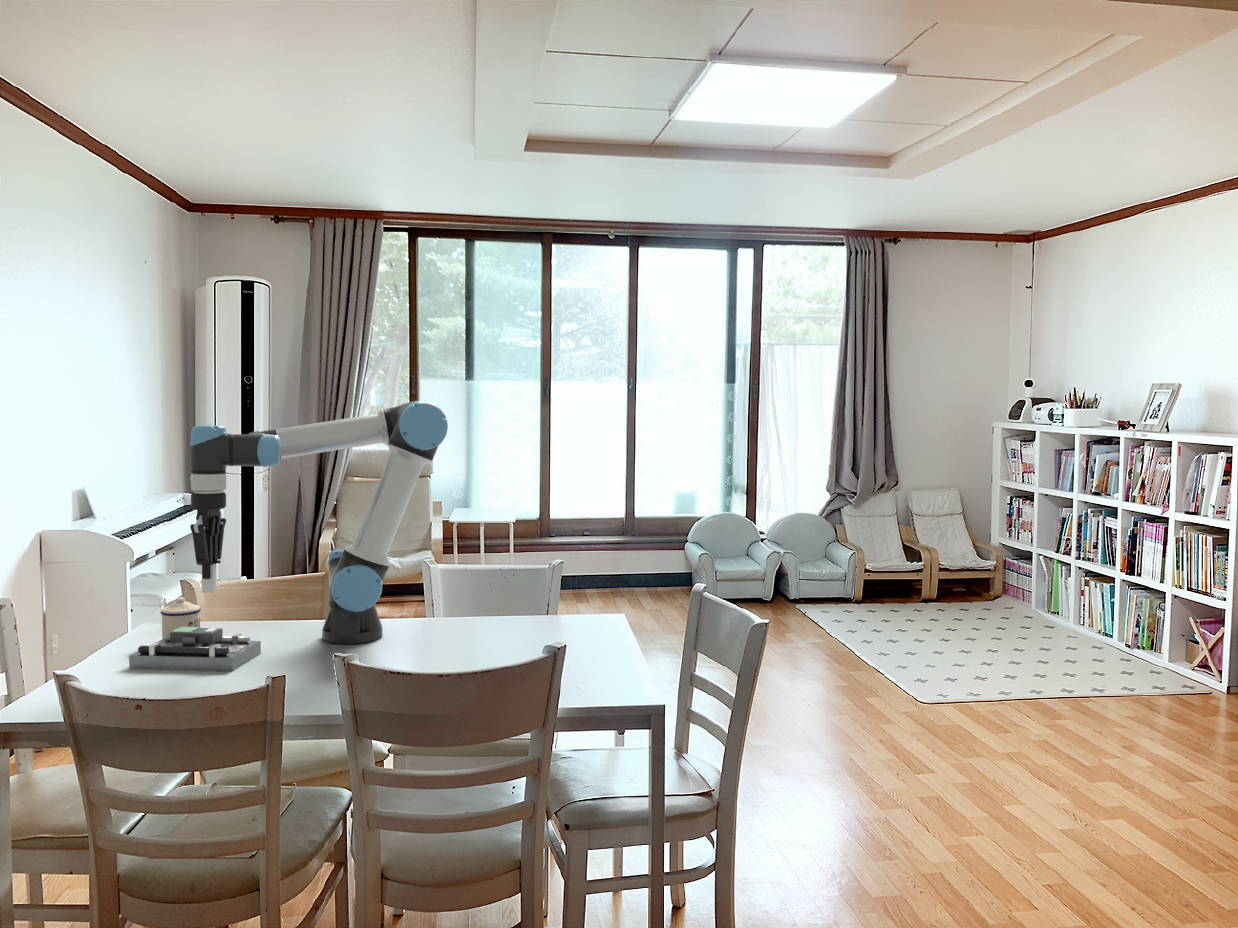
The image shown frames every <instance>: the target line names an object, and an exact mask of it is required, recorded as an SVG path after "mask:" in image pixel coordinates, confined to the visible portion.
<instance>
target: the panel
mask: <svg viewBox="0 0 1238 928" xmlns="http://www.w3.org/2000/svg"><path fill="white" fill-rule="evenodd" d="M182 639H183V643H170V635H166V636H165V638H164V639H162V638H161V639H160V640H159V641H156V642H153V643H152V644H150V645H140V646H139V647H137V651H135V652H133V653H131V654H129V655H128V662H129V664H128V665H129V666H128V668H129V669H132V670H133V669H134V670H135V669H141V670H179V671H182V670H183V671H184V670H185V671H213V672H214V671H216V672H217V671H218V672H219V671H223V672H224V671H225V672H234V671H236V670H237V669H239V668H240V667H242V666H244V665H245V664H247V663H248V662H249V661H250V660H253V659H254V658H256V657H257V656H259V655H260V654H261V653H262V652H261V651H262V649H261V645H262V644H261V640H251V637H250V636H242V633H235V634H233V635H231V636H223V638H222V639H220V640H219V641H217V642H215V643H213V644H201V643H197V637H191V636H184V637H182Z"/></svg>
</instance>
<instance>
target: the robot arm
mask: <svg viewBox="0 0 1238 928" xmlns="http://www.w3.org/2000/svg"><path fill="white" fill-rule="evenodd" d="M448 426H449V425H448V420H447V417H446V414H445V413H444V411H443V410H442V408H440V407H439V406H438V405H437V404H435V403H433V402H432V401H428V400H421V399H420V400H413V401H409V402H406V403H403V404H401V405H397V406H393V407H388V408H382V409H380V410H379V411H378V412H377V413H375V414H368V415H362V416H355V417H354V416H353V417H349V418H342V419H341V418H340V419H336V420H335V419H334V420H329V421H328V420H327V421H322V422H316V423H314V422H313V423H309V424H303V425H302V424H301V425H296V426H288V427H282V428H276V429H270V430H269V429H267V430H262V431H259V430H257V431H251V432H249V433H247V434H246V433H245V434H238V433H237V434H234V433H228V432H227V428H226V426H225V425H219V424H218V425H216V424H215V425H214V424H213V425H212V424H210V425H209V424H202V425H201V424H199V425H195V426H193V427H192V428H191V431H190V444H189V447H190V448H189V449H190V477H189V481H190V484H191V485H190V490H191V491H193V492H192V493H191V494H190V507H191V508H192V510H196V518H195V519H196V522H195V523H191V524H190V526H189V527H190V531H191V533H192V539H193V540H192V541H193V547H194V549H193V550H194V554H195V561H196V565H197V566H201V593H206V594H208V593H209V594H210V593H211V594H213V593H216V592H217V564H221V563H222V562H221V561H222V560H221V559H222V553H223V545H224V544H223V542H224V534H225V533H224V532H225V527H226V522H227V519H226V518H225V517H224V518H222V513H221V512H222V511H221V510H222V509H225V508H226V507H227V493H226V492H225V491H226V490H227V467H263V468H266V467H277V466H278V465H279V464H281V463H280V462H281V460H282V459H287V458H294V457H301V456H306V455H314V454H320V453H326V452H333V451H339V450H346V449H352V448H358V447H363V446H364V447H365V446H373V445H377V444H383V445H385V446H387V447H388V449H389V453H390V454H389V456H388V459H387V462H386V463H385V466H384V468H383V470H382V474H381V475H380V478H379V480H378V482H377V486H376V488H375V490H374V493H373V495H372V498H371V500H370V502H369V504H368V507H367V510H366V512H365V515H364V517H363V519H362V522H361V524H360V527H359V528H358V531H357V534H356V535H355V538H354V540H353V542H352V543H351V544H350V545H346V546H345V547H344V548H343V549H338V550H336V549H335V550H331V551H330V552H329V554H328V559H327V564H328V611H327V615H326V617H325V620H324V623H323V627H322V630H321V631H322V632H321V639H322V641H324V642H326V643H331V644H335V645H336V644H337V645H339V644H340V645H353V644H354V645H356V644H363V643H369V642H372V641H373V642H374V641H376V640H379V639H380V638H381V639H382V637H383V625H382V621H381V619H380V616H379V614H378V610H377V606H376V603H377V602H378V601H379V599H380V598H381V595H382V594H383V582H384V580H385V578H386V575H387V572H388V570H389V568H390V565H391V563H390V560H389V558H388V554H389V552H390V549H391V547H392V544H393V542H394V540H395V537H396V534H397V532H398V529H399V527H400V524H401V522H402V520H403V517H404V515H405V513H406V510H407V507H408V505H409V503H410V500H411V497H412V495H413V492H414V490H415V488H416V487H417V483H418V481H419V478H420V476H421V473H422V471H423V469H424V466H426V465H428V464H431V463H432V462H433V460H434V457H435V455H436V453H437V450H438V447H440V446H441V444H442V443H443V441H444V440H445V438H446V437H447V433H448V429H449V427H448Z"/></svg>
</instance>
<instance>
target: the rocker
mask: <svg viewBox="0 0 1238 928" xmlns="http://www.w3.org/2000/svg"><path fill="white" fill-rule="evenodd" d="M223 635H224V634H223V628H220V627H217V628H216V627H201V626H200V627H180V628H178V629H175V630H173V631H172V632H170V643H183V639H182V637H184V636H191V637H197V643H201V644H213V643H215V642H217V641H219V640H220V639H222V638H223Z"/></svg>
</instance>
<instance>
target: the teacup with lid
mask: <svg viewBox="0 0 1238 928" xmlns="http://www.w3.org/2000/svg"><path fill="white" fill-rule="evenodd" d="M201 610H202V609H201V606H199V605H198V604H193V603H191V602H190V601H186V598H185V597H177V598H176V600H175V602H173V603H171V604H169V605H168V606H165V607H162V609H161V610H160V614H161V635H162V637H161V640H162V639H164V638H165V636H166V635H170V632H172V631H173V630H175V629H178V628H180V627H200V628H201V613H200V612H201Z"/></svg>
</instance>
